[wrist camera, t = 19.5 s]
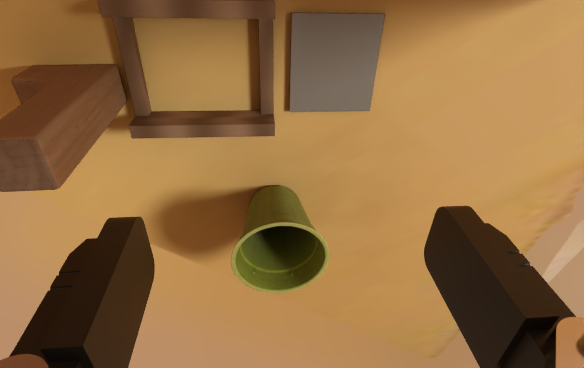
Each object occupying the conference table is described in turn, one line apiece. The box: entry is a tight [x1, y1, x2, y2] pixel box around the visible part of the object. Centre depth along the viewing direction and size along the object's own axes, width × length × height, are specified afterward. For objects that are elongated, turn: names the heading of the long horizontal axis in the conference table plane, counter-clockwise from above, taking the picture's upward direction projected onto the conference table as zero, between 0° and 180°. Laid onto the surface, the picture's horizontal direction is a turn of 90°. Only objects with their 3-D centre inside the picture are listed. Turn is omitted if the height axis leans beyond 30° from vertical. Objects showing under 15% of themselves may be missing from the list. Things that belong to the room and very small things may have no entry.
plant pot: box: [231, 186, 329, 293], centre depth 48 cm, size 12×12×11 cm
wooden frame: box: [97, 0, 275, 138], centre depth 39 cm, size 16×14×4 cm
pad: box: [289, 12, 385, 112], centre depth 41 cm, size 10×11×1 cm
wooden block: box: [0, 64, 126, 192], centre depth 33 cm, size 9×4×18 cm, turn 90°
